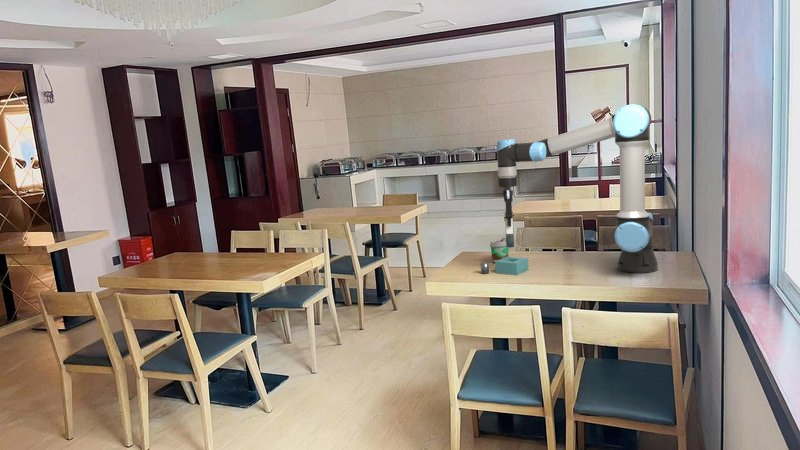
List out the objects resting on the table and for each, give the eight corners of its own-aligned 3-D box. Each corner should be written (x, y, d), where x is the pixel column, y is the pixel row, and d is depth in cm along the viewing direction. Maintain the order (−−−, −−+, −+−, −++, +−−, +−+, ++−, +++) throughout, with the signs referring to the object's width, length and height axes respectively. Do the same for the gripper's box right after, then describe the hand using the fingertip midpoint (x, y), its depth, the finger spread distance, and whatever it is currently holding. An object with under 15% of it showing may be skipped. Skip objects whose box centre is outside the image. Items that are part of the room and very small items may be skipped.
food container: (503, 265, 249) (502, 243, 248) (491, 264, 253) (489, 242, 252) (515, 259, 259) (514, 238, 258) (503, 258, 263) (502, 237, 261)
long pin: (515, 246, 235) (514, 211, 233) (511, 247, 233) (510, 212, 231) (508, 245, 237) (507, 210, 235) (505, 247, 235) (503, 211, 233)
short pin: (490, 272, 237) (489, 262, 237) (486, 274, 235) (485, 264, 234) (484, 272, 239) (483, 261, 239) (480, 273, 237) (479, 263, 236)
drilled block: (528, 269, 237) (528, 258, 236) (516, 275, 230) (516, 263, 229) (507, 267, 243) (507, 256, 243) (495, 273, 236) (495, 261, 235)
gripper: (498, 175, 239) (500, 229, 243) (497, 179, 223) (500, 236, 227) (516, 174, 238) (518, 229, 241) (517, 178, 222) (519, 235, 226)
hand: (509, 232), depth 234 cm, fingers closed on long pin, 3 cm apart
